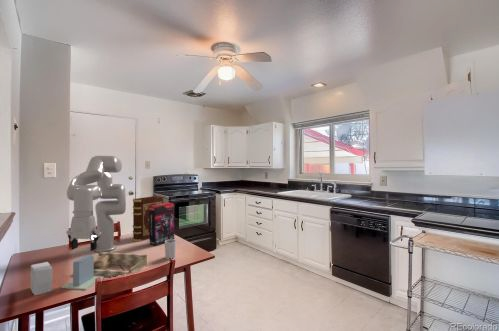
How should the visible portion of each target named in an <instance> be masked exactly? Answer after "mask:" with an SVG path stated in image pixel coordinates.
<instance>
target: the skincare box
mask: <svg viewBox="0 0 499 331" xmlns="http://www.w3.org/2000/svg"><path fill="white" fill-rule="evenodd" d="M29 287H30V290H31V293H32V294H34V295H33V296H40V295H42V294H46V293H50V292H52V291H53V267H52V265H51V264H50V263H49V262H48V261H45V262H40V263H34V264H31V265H30V286H29Z"/></svg>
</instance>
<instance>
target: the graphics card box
mask: <svg viewBox="0 0 499 331" xmlns="http://www.w3.org/2000/svg"><path fill="white" fill-rule="evenodd" d="M174 208H175V205H174V203H173V202H163V204H156V205H150V206H149V235H150V238H149V245H151V246H155V247H156V246H158V245H163V244H165V240H169V239H175V212H174V211H175V209H174Z"/></svg>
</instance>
